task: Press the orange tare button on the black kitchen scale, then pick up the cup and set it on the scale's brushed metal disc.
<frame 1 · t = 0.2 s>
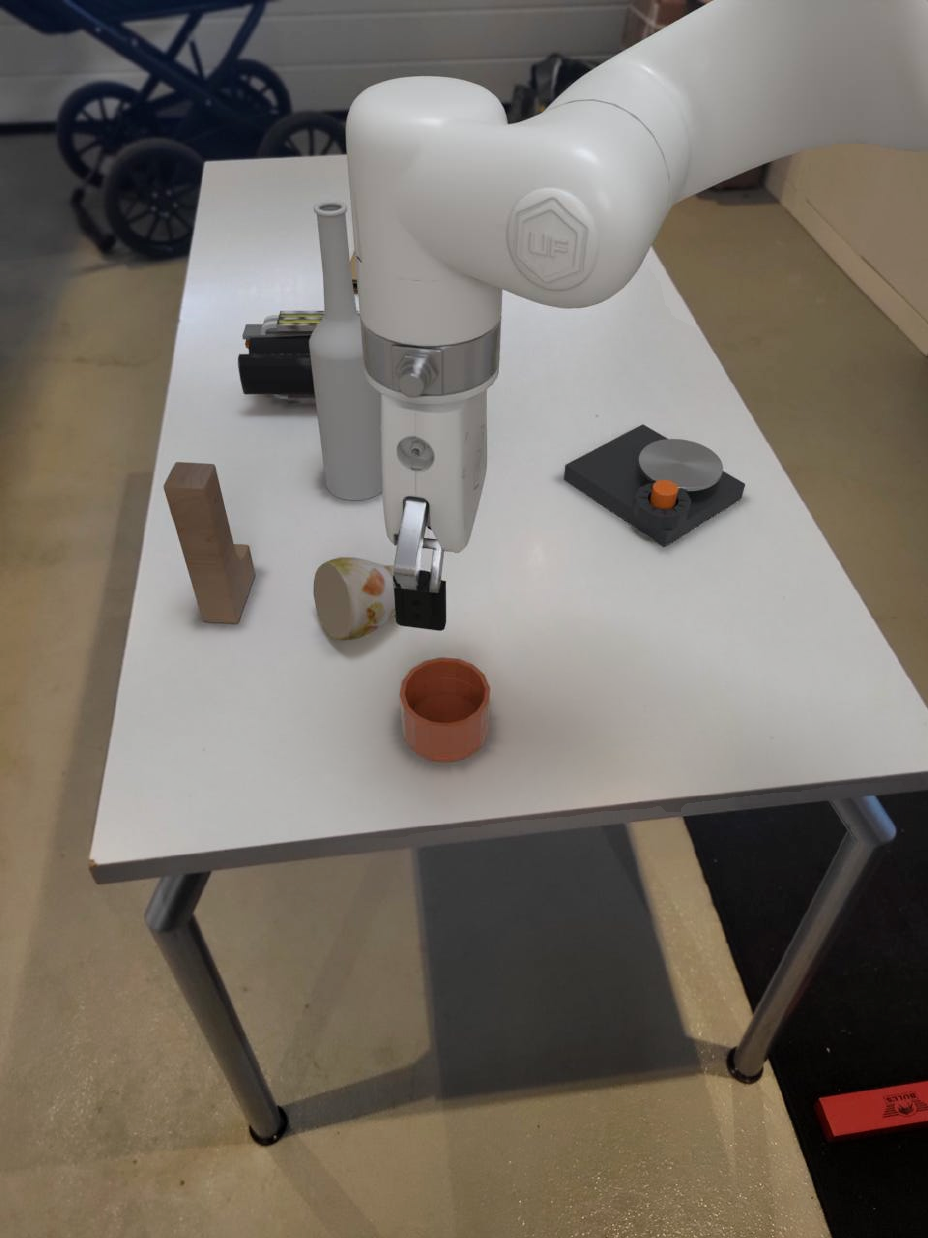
hand: (435, 574, 60), 15 cm above the table, tool pointing down, fingers open, 9 cm apart
bottle: (357, 482, 93), on the table
wooden block: (230, 599, 80), on the table
mechanical component: (363, 398, 104), on the table
scale: (651, 488, 92), on the table
tare button: (664, 494, 85), point 4 cm above the table, slide at 0.1 cm
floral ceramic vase: (374, 614, 79), on the table
cup: (445, 727, 70), on the table
box: (415, 263, 130), on the table
brushed metal disc: (679, 465, 89), resting on scale
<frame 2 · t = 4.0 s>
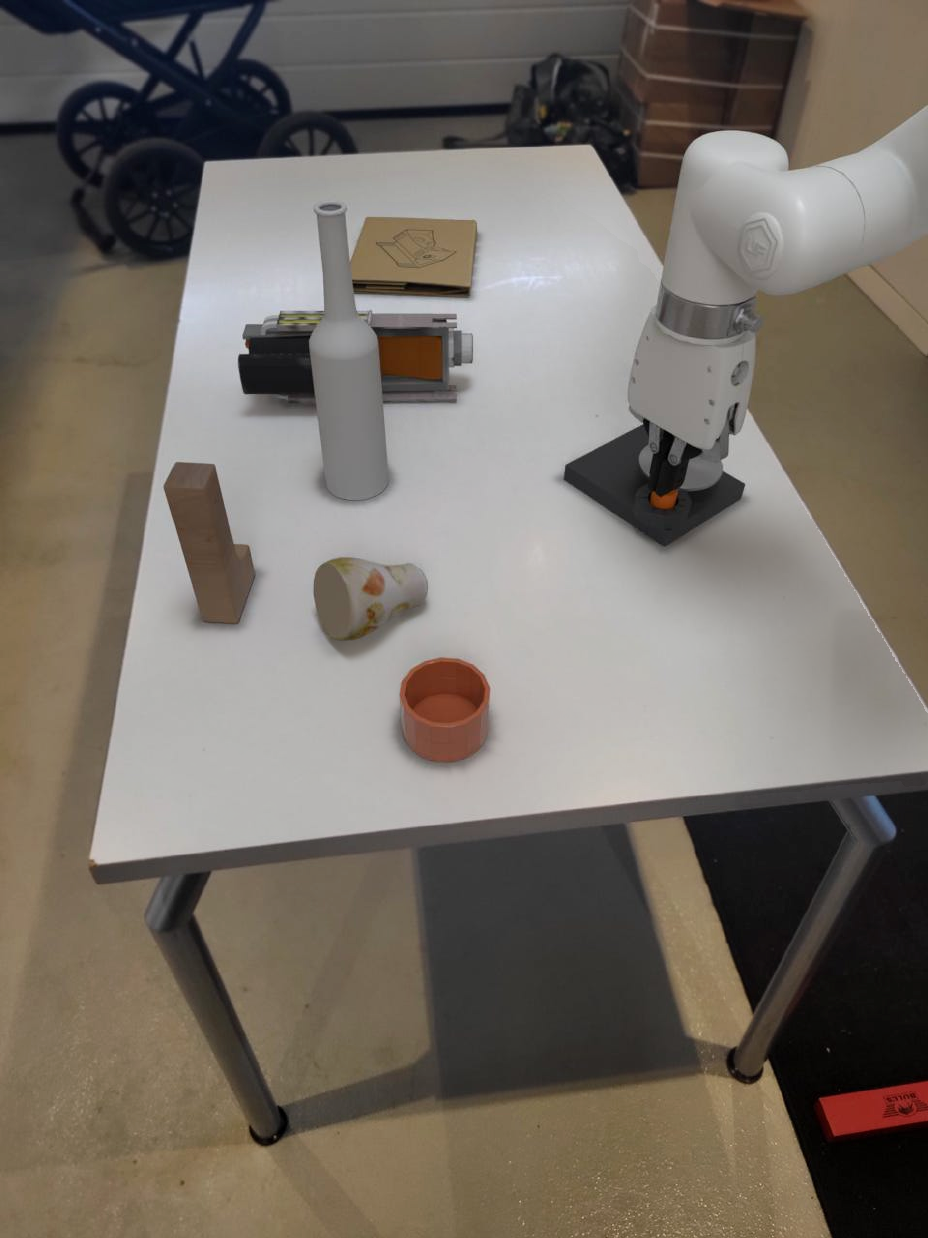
hand: (664, 487, 84), 5 cm above the table, tool pointing down, fingers closed
tare button: (663, 495, 85), point 4 cm above the table, slide at 0.0 cm, touching gripper
everything else where it was.
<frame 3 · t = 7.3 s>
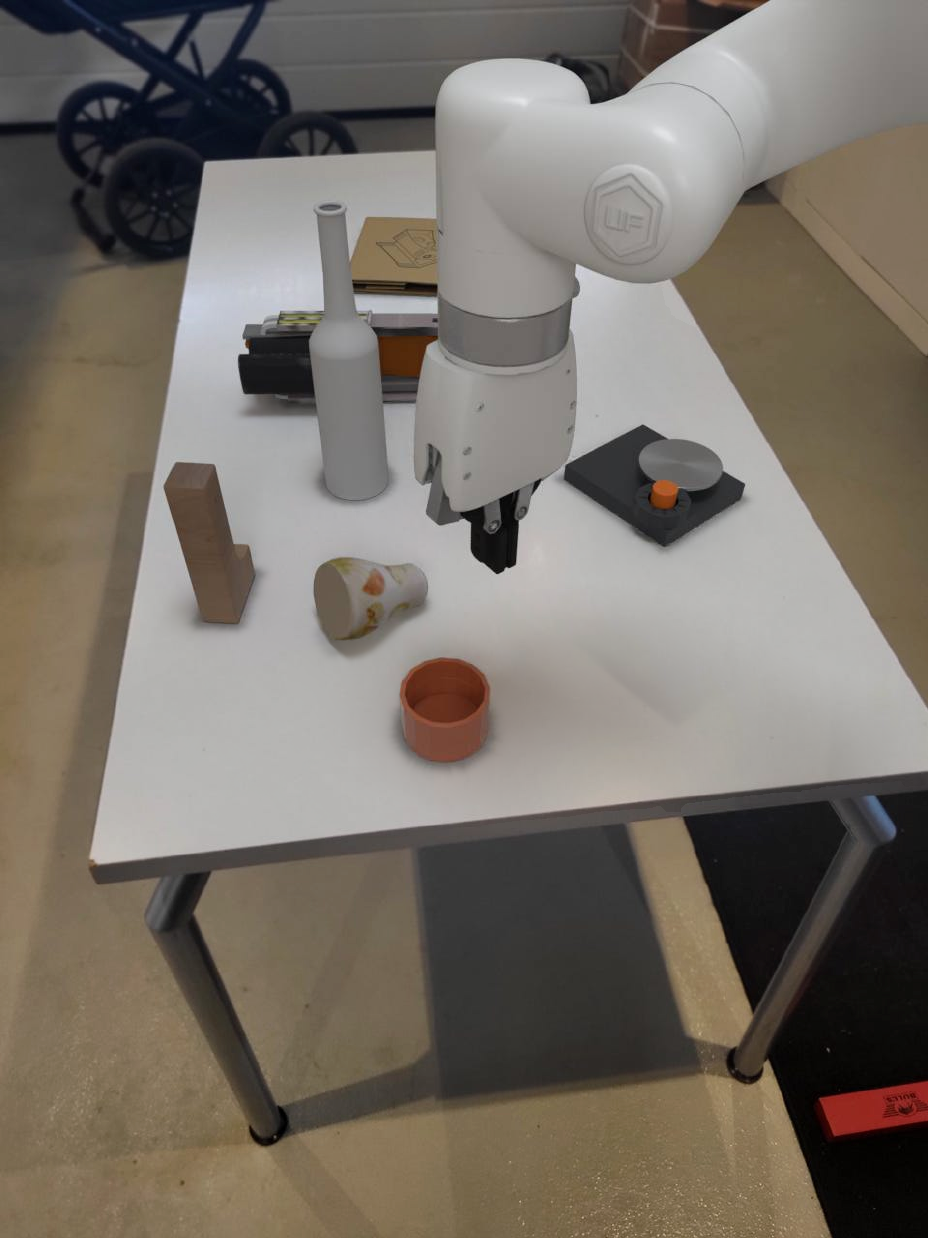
hand: (493, 559, 63), 14 cm above the table, tool pointing down, fingers closed
tare button: (664, 494, 85), point 4 cm above the table, slide at 0.1 cm
everything else where it was.
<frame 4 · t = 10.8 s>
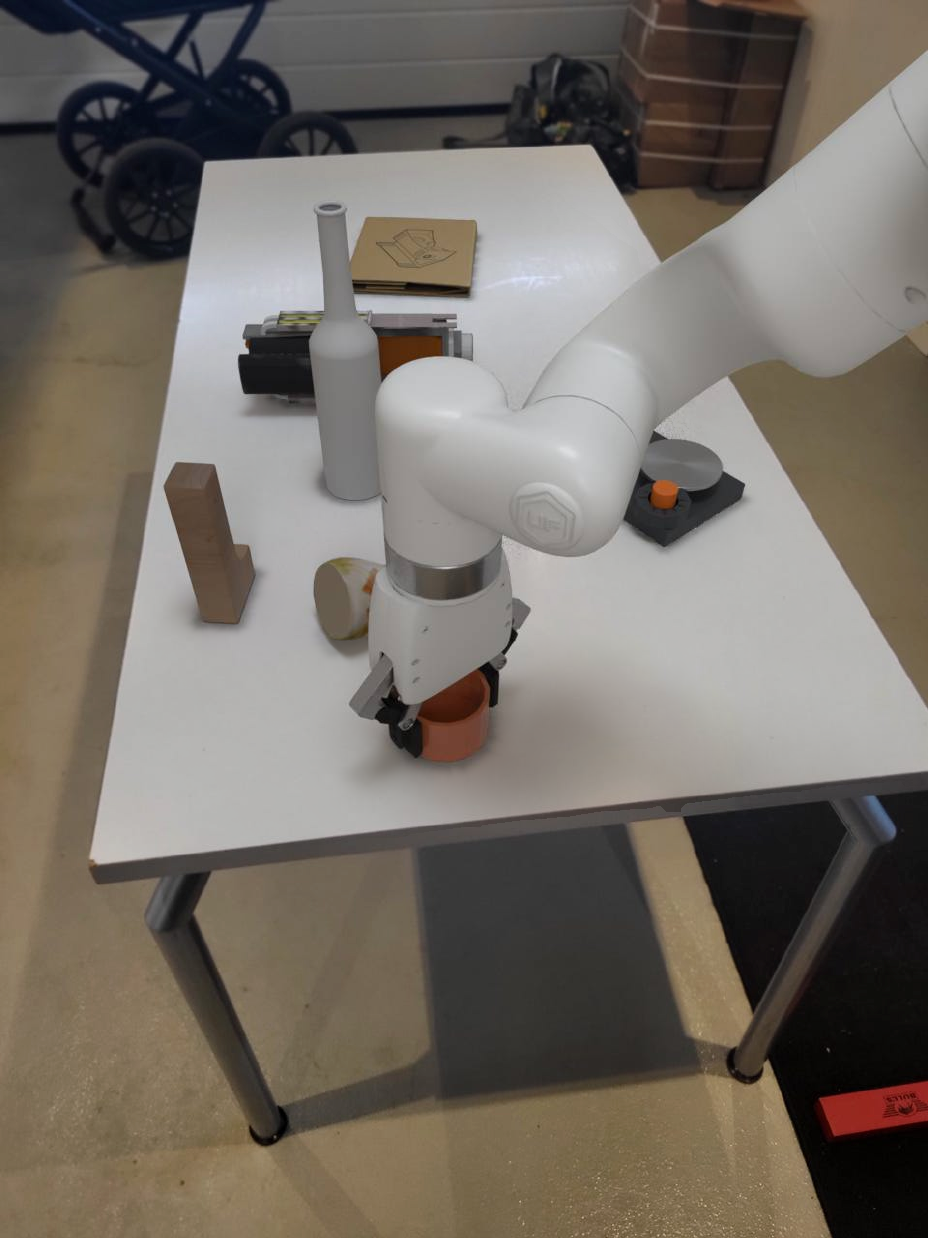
hand: (445, 718, 69), 1 cm above the table, tool pointing down, fingers closed on cup, 6 cm apart
cup: (445, 727, 70), on the table, touching gripper
everything else where it was.
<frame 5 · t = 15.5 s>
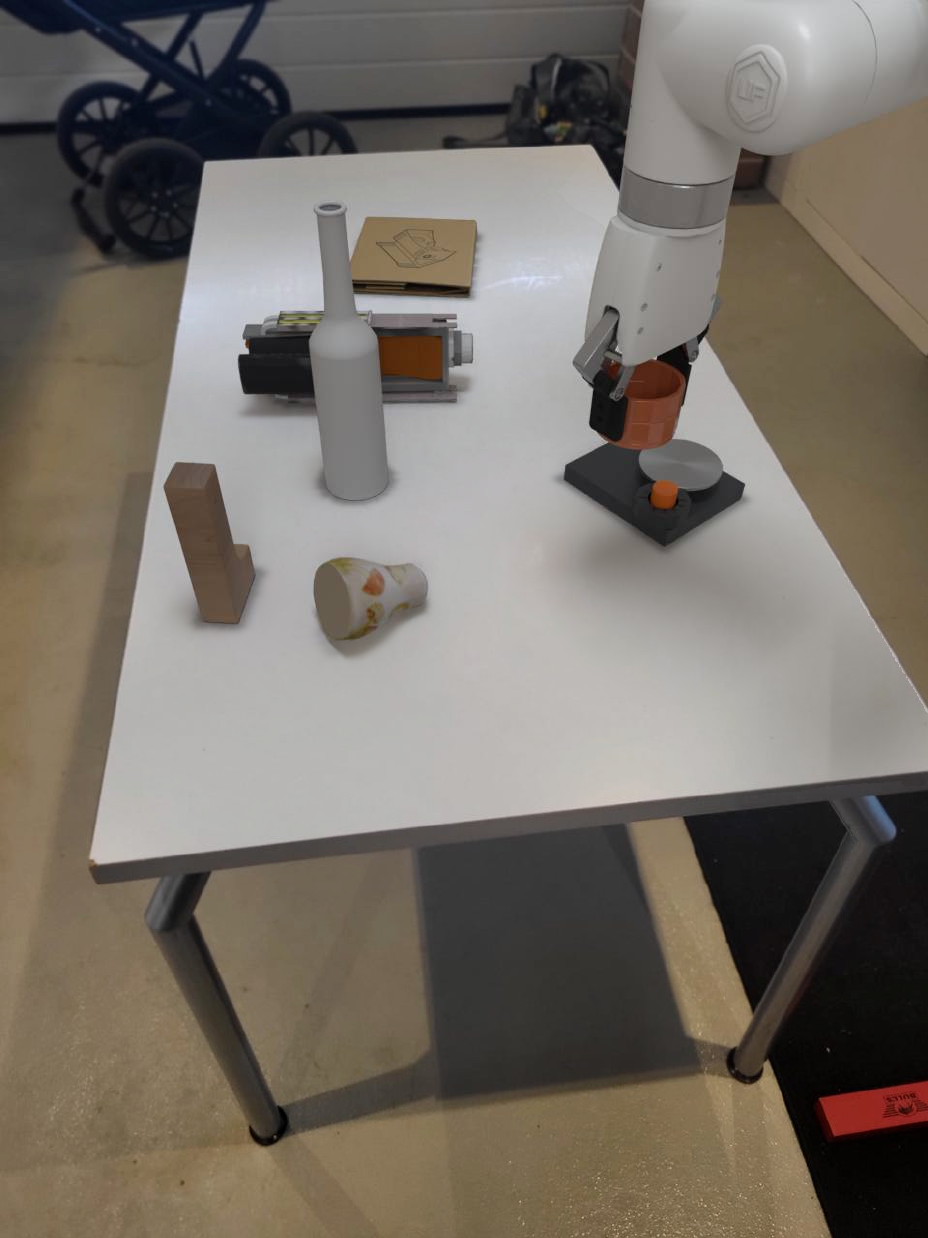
hand: (636, 415, 73), 16 cm above the table, tool pointing down, fingers closed on cup, 6 cm apart
cup: (634, 426, 74), point 15 cm above the table, touching gripper
everything else where it was.
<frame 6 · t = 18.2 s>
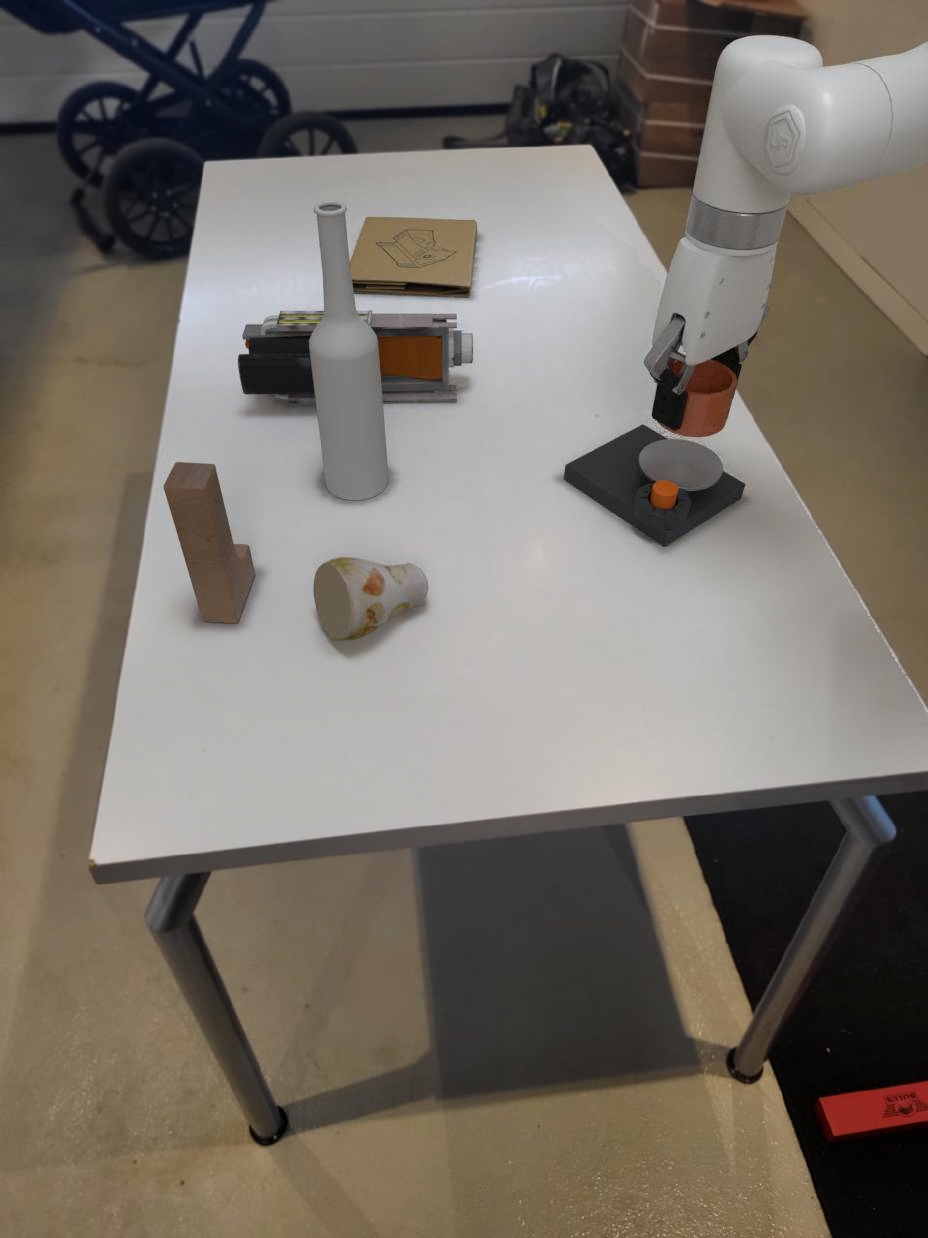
hand: (692, 408, 84), 10 cm above the table, tool pointing down, fingers closed on cup, 6 cm apart
cup: (689, 417, 85), point 9 cm above the table, touching gripper
everything else where it was.
when the fingers open (5 cm above the table, at t = 20.2 s): cup stays where it is, resting on brushed metal disc.
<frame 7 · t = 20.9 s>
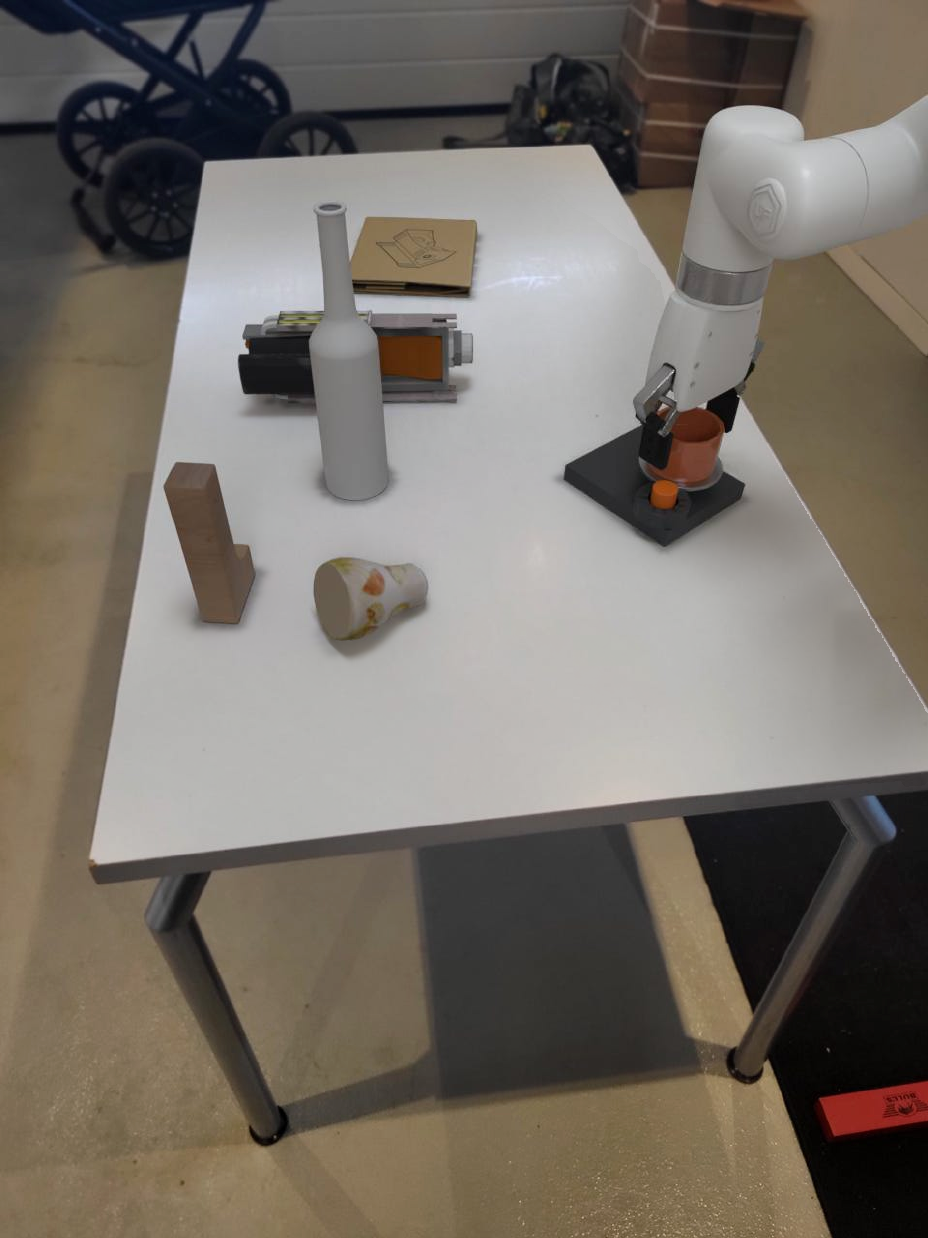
hand: (685, 444, 87), 6 cm above the table, tool pointing down, fingers open, 9 cm apart
cup: (680, 462, 89), point 4 cm above the table, touching brushed metal disc
everything else where it was.
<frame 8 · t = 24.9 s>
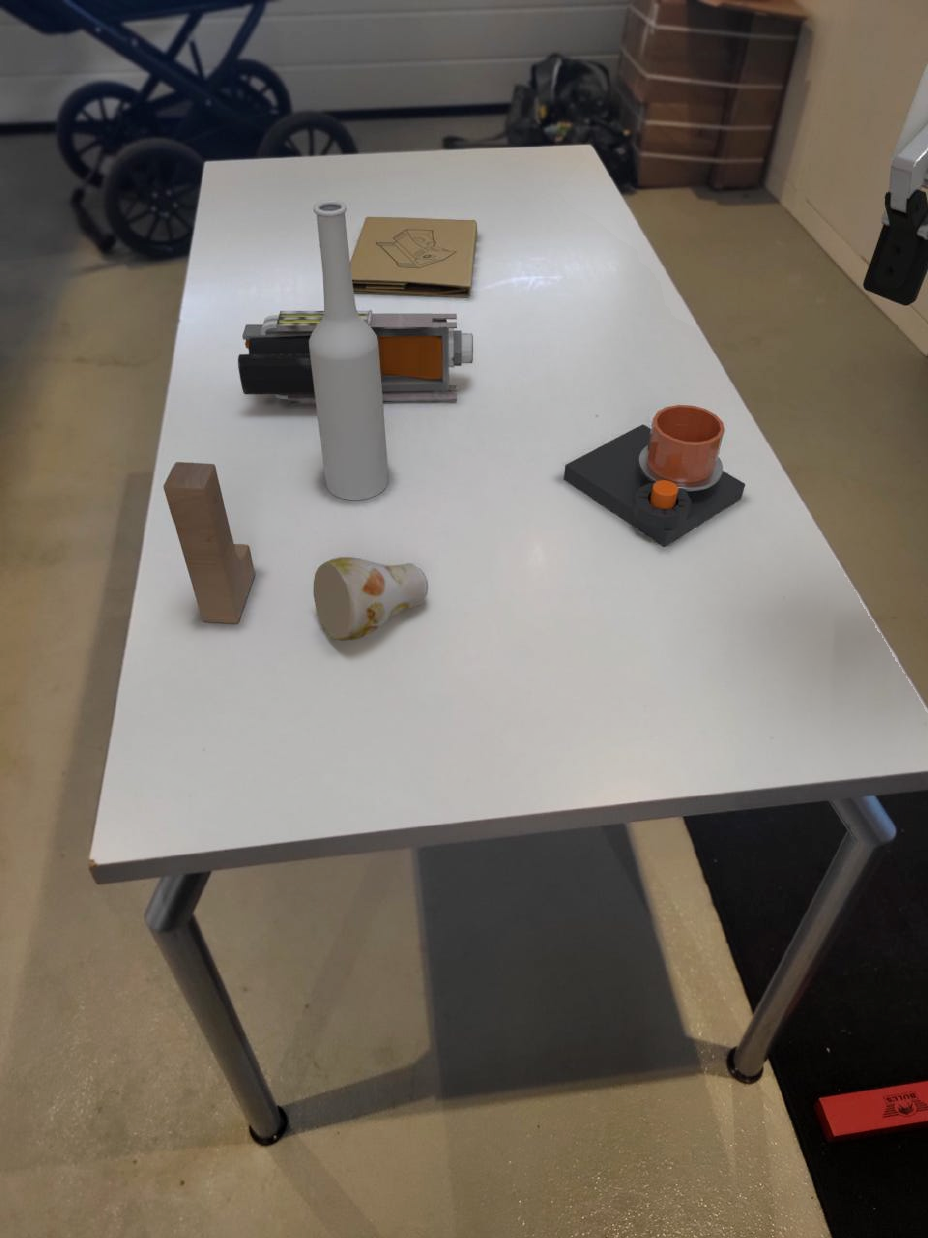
nothing on the table moved.
at the end: tare button pushed in 0.9 cm at the most during the clip, back to where it started at the end; cup 0.1 cm off-centre on the brushed metal disc, point 0.4 cm above the brushed metal disc's base; cup tilted 0° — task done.
